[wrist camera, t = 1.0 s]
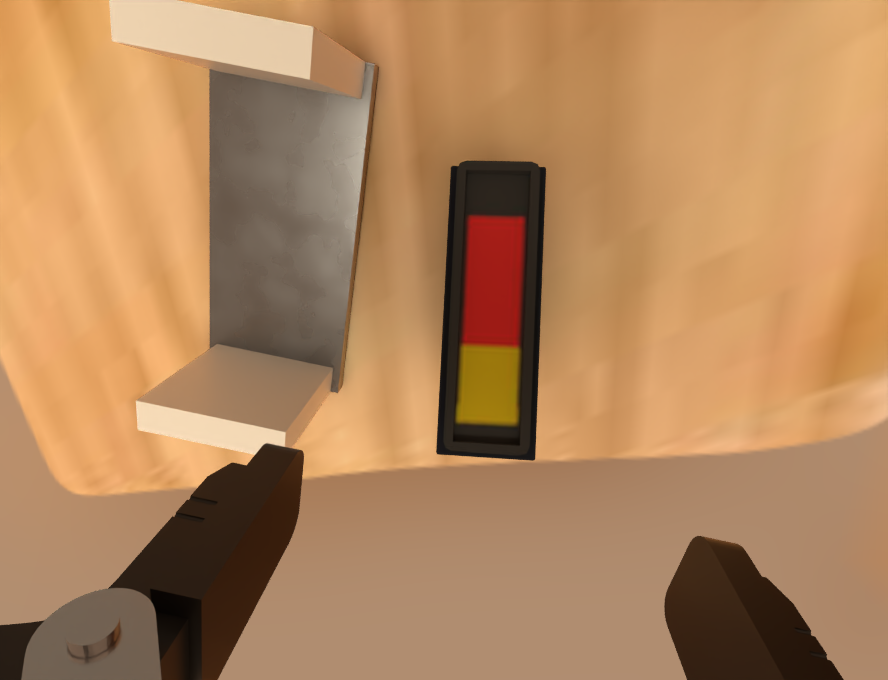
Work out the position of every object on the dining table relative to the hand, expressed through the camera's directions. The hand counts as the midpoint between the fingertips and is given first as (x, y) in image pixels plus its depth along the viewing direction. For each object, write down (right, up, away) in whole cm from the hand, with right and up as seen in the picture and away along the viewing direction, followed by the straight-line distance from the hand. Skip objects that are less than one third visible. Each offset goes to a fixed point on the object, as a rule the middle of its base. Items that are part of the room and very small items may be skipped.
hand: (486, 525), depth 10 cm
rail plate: (-11, +11, +21) cm, 25 cm away
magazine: (+2, +8, +21) cm, 22 cm away
